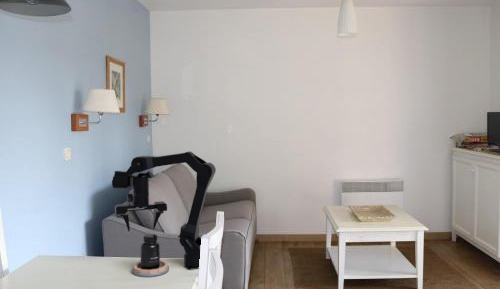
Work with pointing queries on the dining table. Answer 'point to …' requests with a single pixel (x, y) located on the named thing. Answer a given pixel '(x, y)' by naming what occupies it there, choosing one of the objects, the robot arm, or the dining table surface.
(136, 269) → the bottle holder
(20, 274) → the dining table surface
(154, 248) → the supplement bottle
